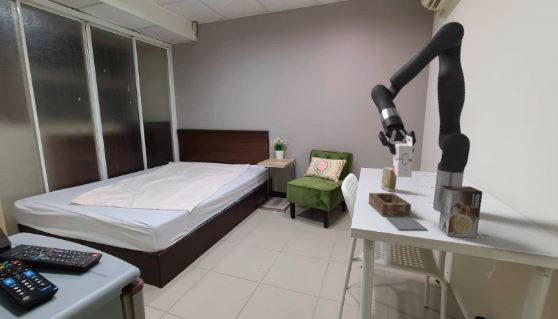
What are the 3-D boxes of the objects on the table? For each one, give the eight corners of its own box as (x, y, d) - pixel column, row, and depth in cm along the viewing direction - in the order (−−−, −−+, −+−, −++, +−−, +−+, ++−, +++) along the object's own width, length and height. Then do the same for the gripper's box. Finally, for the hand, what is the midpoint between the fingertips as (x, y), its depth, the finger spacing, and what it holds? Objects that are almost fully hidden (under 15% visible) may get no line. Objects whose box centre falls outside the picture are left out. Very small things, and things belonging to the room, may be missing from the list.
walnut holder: (392, 203, 114) (393, 193, 113) (409, 216, 99) (411, 204, 99) (368, 203, 114) (369, 193, 113) (382, 216, 99) (383, 204, 98)
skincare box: (380, 188, 138) (382, 167, 136) (387, 188, 139) (389, 166, 137) (389, 192, 132) (391, 169, 130) (395, 191, 133) (397, 169, 131)
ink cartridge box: (391, 172, 100) (393, 135, 97) (405, 172, 99) (407, 135, 96) (397, 177, 92) (398, 137, 89) (411, 177, 90) (414, 137, 88)
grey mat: (411, 218, 97) (411, 217, 97) (426, 230, 87) (427, 229, 87) (386, 218, 97) (386, 217, 97) (398, 230, 87) (398, 229, 87)
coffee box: (465, 229, 88) (471, 186, 85) (477, 238, 81) (484, 191, 79) (437, 228, 89) (442, 185, 86) (446, 236, 83) (452, 190, 80)
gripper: (376, 114, 101) (387, 147, 91) (412, 114, 100) (426, 147, 91) (371, 127, 107) (380, 159, 97) (405, 127, 107) (417, 159, 97)
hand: (402, 153), depth 94 cm, fingers closed on ink cartridge box, 5 cm apart
